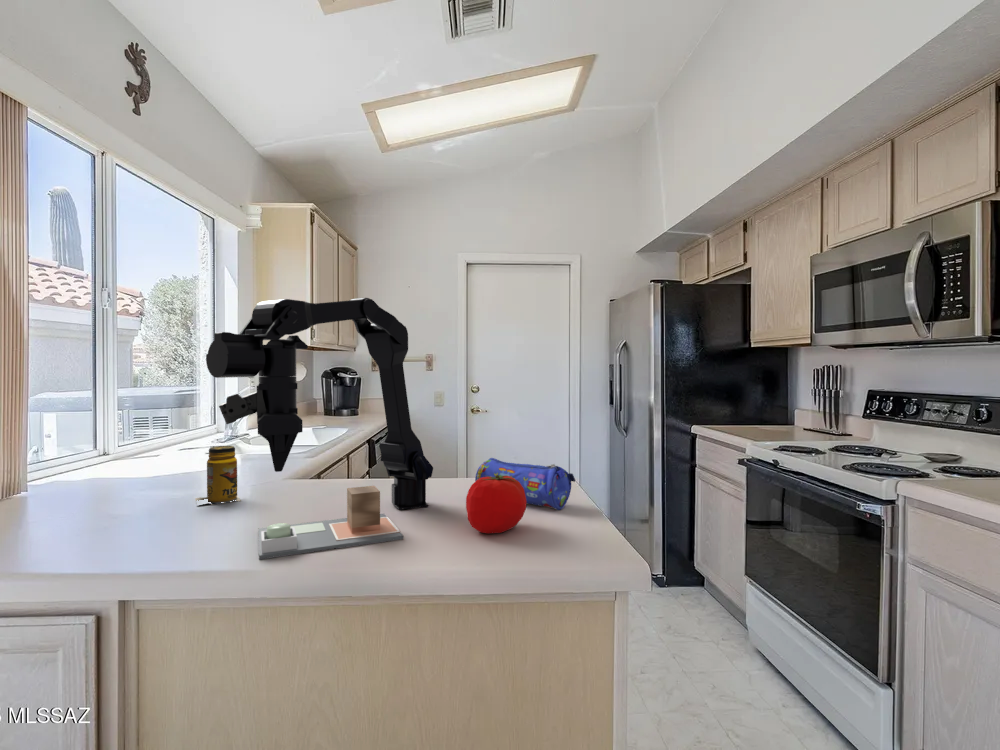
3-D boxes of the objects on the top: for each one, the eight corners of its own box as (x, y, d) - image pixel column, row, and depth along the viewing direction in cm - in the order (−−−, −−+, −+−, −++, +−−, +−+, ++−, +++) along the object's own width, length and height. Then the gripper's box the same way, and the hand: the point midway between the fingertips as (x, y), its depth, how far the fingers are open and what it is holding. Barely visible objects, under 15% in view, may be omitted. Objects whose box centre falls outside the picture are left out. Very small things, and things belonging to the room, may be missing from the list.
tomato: (450, 531, 96) (450, 476, 96) (494, 516, 106) (495, 466, 106) (496, 545, 89) (497, 485, 89) (540, 527, 99) (540, 473, 99)
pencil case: (576, 506, 115) (576, 462, 114) (557, 515, 107) (557, 469, 107) (493, 492, 127) (493, 452, 127) (471, 499, 120) (471, 457, 120)
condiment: (241, 501, 117) (240, 447, 117) (197, 507, 113) (196, 451, 112) (236, 494, 123) (236, 443, 123) (195, 499, 119) (194, 446, 119)
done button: (289, 533, 89) (289, 522, 89) (291, 540, 86) (291, 528, 86) (266, 536, 88) (266, 524, 88) (267, 543, 85) (267, 531, 85)
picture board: (383, 516, 106) (383, 503, 106) (403, 538, 92) (403, 524, 92) (258, 531, 96) (258, 517, 96) (259, 559, 83) (258, 542, 83)
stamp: (374, 522, 100) (374, 485, 100) (380, 529, 95) (380, 491, 95) (347, 525, 98) (347, 488, 97) (351, 533, 93) (351, 494, 93)
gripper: (225, 375, 91) (226, 465, 92) (218, 378, 75) (219, 488, 75) (293, 375, 96) (294, 460, 96) (302, 377, 79) (303, 481, 80)
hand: (278, 471), depth 87 cm, fingers closed
